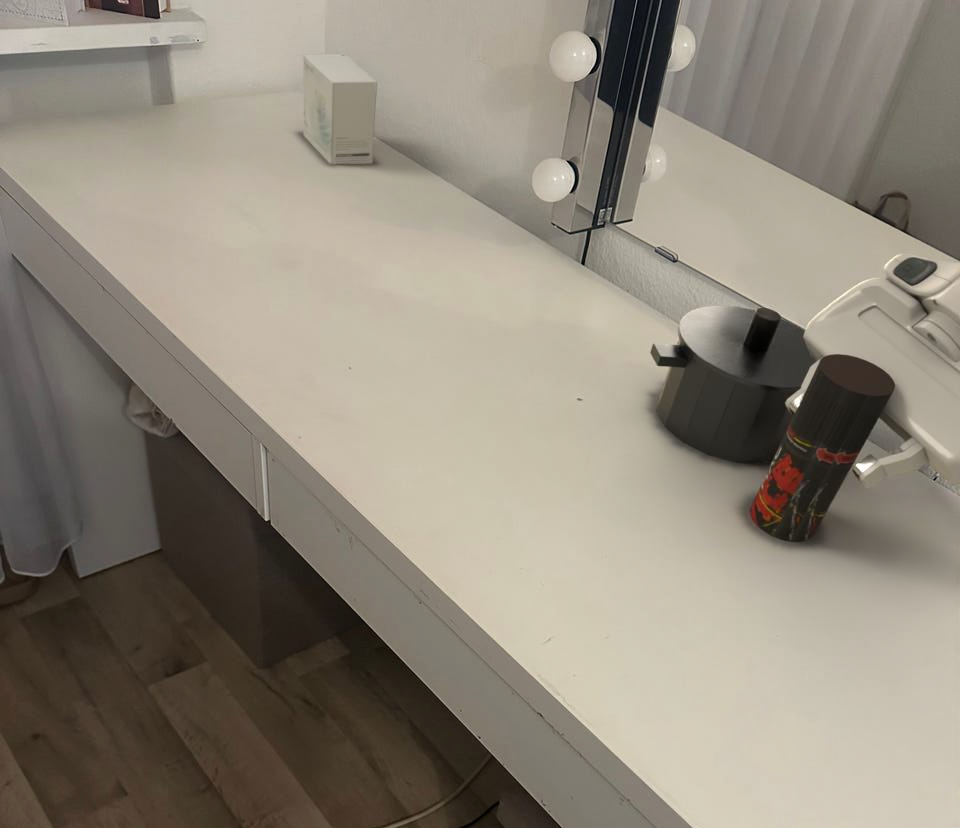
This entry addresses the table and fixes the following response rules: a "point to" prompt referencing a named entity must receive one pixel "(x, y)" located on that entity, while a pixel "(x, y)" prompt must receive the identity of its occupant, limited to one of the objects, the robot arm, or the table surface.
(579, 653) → the table surface
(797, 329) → the pot lid
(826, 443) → the deodorant
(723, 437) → the pot
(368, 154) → the cosmetics box
